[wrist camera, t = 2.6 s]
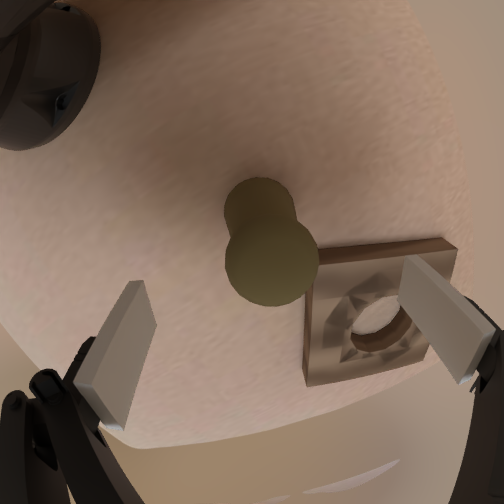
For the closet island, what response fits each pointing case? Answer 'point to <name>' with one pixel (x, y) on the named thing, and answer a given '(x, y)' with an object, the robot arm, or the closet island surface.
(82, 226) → the closet island surface
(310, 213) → the closet island surface
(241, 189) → the olive green knobbed peg
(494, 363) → the robot arm
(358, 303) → the socket block
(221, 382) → the closet island surface
